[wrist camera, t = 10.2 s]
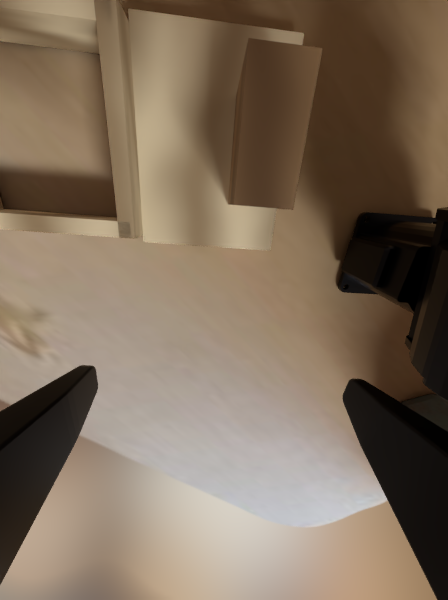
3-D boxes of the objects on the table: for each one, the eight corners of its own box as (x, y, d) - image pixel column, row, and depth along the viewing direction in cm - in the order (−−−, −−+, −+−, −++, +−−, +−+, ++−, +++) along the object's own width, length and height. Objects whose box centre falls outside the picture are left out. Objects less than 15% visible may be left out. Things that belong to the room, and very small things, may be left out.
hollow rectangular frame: (297, 44, 13) (358, -69, 8) (267, 248, 18) (291, 268, 12) (-79, -7, 12) (-335, -191, 6) (-5, 229, 17) (-113, 242, 11)
